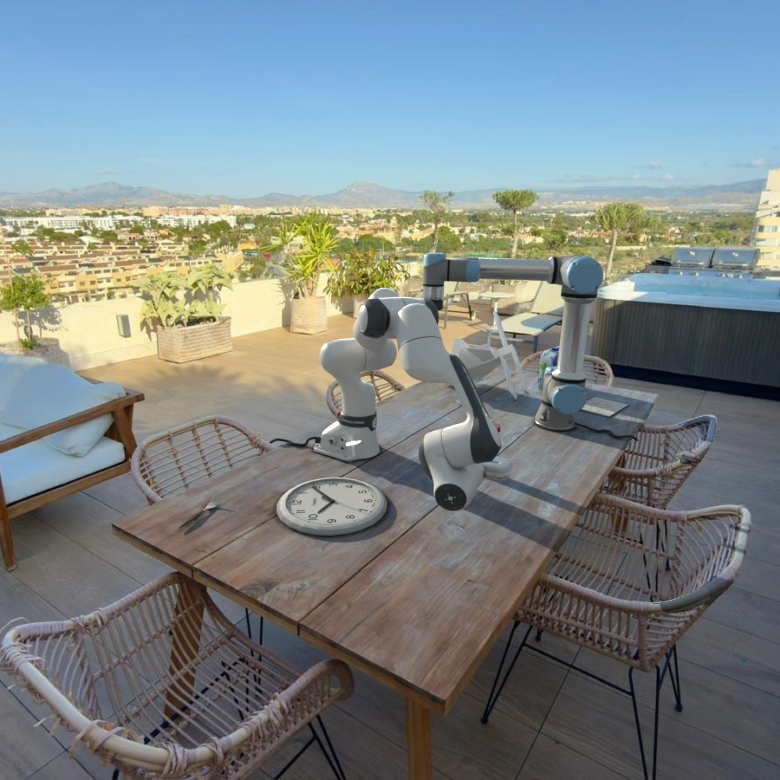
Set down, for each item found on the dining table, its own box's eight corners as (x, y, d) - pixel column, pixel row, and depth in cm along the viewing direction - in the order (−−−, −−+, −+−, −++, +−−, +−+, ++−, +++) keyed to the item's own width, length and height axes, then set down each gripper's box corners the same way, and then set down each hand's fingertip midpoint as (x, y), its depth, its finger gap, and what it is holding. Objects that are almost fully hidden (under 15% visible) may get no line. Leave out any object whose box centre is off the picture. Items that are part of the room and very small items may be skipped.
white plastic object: (461, 429, 252) (437, 405, 227) (444, 352, 274) (420, 323, 250) (535, 404, 240) (518, 377, 215) (510, 326, 262) (492, 293, 237)
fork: (174, 529, 130) (174, 521, 130) (216, 499, 144) (215, 492, 144) (183, 531, 129) (182, 524, 129) (223, 501, 144) (223, 494, 143)
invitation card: (608, 416, 214) (573, 407, 224) (608, 416, 214) (573, 408, 224) (628, 404, 229) (594, 396, 238) (628, 405, 229) (594, 397, 238)
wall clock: (392, 527, 129) (268, 531, 127) (391, 533, 130) (269, 537, 127) (383, 473, 158) (282, 475, 155) (383, 478, 158) (282, 480, 156)
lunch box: (554, 397, 237) (559, 352, 231) (533, 392, 244) (538, 348, 238) (581, 386, 255) (586, 344, 248) (560, 381, 262) (565, 340, 256)
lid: (486, 434, 155) (486, 429, 155) (478, 428, 160) (478, 422, 160) (503, 433, 156) (503, 427, 156) (495, 426, 162) (495, 421, 161)
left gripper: (509, 466, 123) (516, 447, 136) (426, 454, 130) (440, 437, 143) (507, 491, 125) (515, 470, 137) (425, 477, 131) (439, 459, 144)
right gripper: (424, 293, 195) (422, 349, 202) (419, 302, 172) (417, 365, 178) (444, 294, 195) (441, 350, 201) (442, 303, 171) (439, 366, 177)
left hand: (476, 453), depth 140 cm, fingers open, 8 cm apart
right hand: (430, 357), depth 190 cm, fingers open, 13 cm apart
